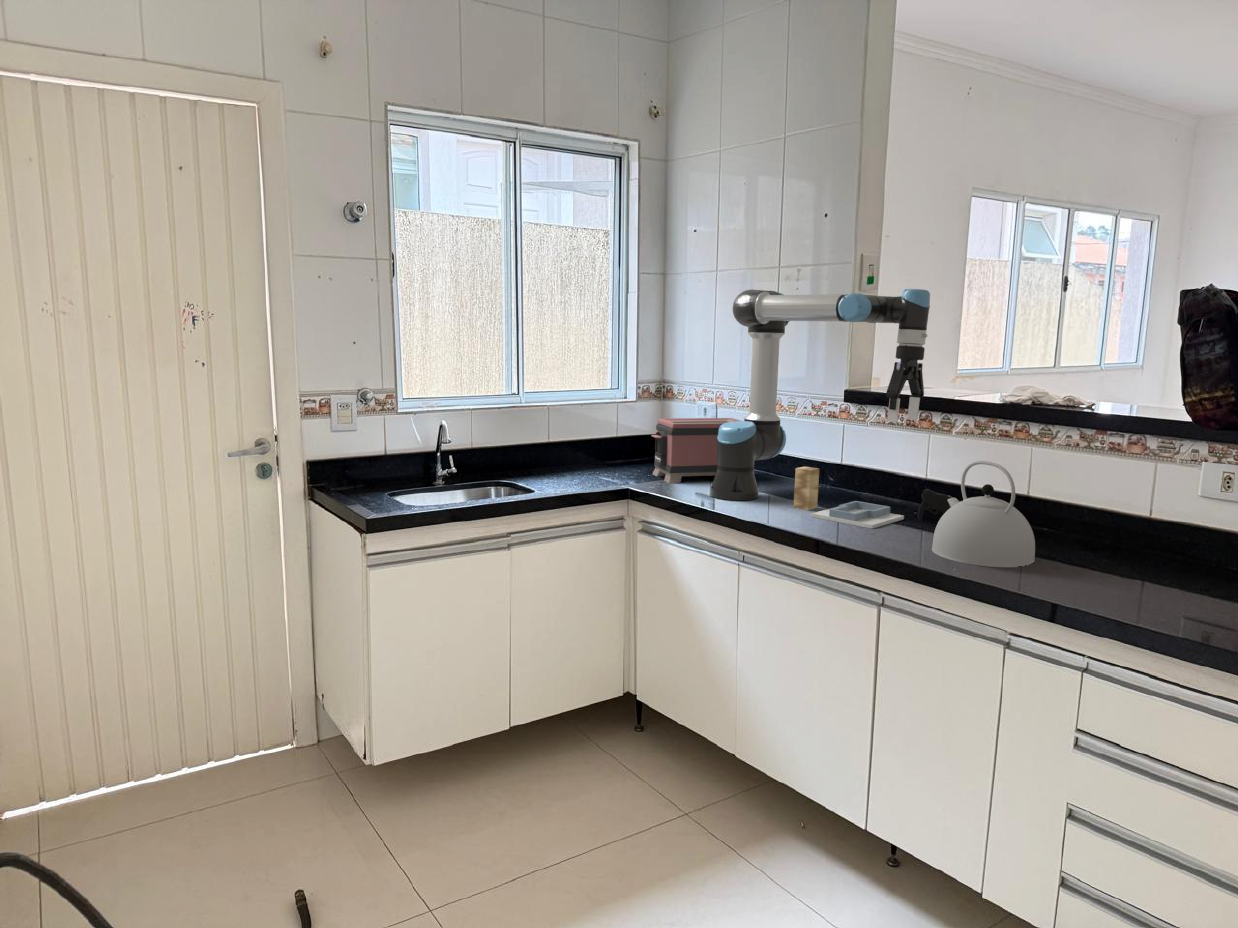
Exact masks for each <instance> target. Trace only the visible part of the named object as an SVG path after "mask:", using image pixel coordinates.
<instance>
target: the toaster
mask: <svg viewBox="0 0 1238 928" xmlns="http://www.w3.org/2000/svg"><path fill="white" fill-rule="evenodd" d="M736 421H742V420H740V419H737V418H734V417H706V418H705V417H703V418H701V417H699V418H697V417H696V418H695V417H694V418H693V417H691V418H690V417H687V418H685V417H683V418H681V417H680V418H679V417H678V418H675V417H674V418H673V417H672V418H658V420H657V424H655V429H656V433H655V434H651V435H650V436H651V437H652V438H655V439H654V441H655V443H654V452H655V453H654V465H653V466H654V467H655V468H654V470H653V471H652V475H653V476H655V477H664V480H663V481H664V482H666V483H667V484H681V483H682V477H703V476H706V477H707V476H708V477H710V476H715V475H716V472H717V453H718V438H717V437H718V432H719V427H720V426H721V425H722V424H724V423H728V422H736Z"/></svg>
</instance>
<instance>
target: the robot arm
mask: <svg viewBox="0 0 1238 928" xmlns="http://www.w3.org/2000/svg"><path fill="white" fill-rule="evenodd" d="M930 302H931V292H930V291H929V290H927V289H923V288H922V289H921V288H909V289H908V288H906V289H903V290H902V293H901V296H900V295H899V296H885V295H882V296H881V295H872V294H871V295H870V294H862V293H849V294H848V293H847V294H843V293H842V294H839V293H838V294H784V293H782V292H779V291H775V290H763V289H746V290H743V291H742V292H740V293H739V294H738V295H737V296H736V297H735V299H734V300H733V303H732V314H733V317H734V319H735V321H736V322H738V323H739V324H740V325H741V326H743V327H746V328H747V334H748V335H749V336H750V337H751V338H752V340H751V341H752V344H751V364H750V365H751V366H750V367H751V368H750V389H749V391H750V392H749V411H748V412H749V413H748V414H747V415H746V416H745V417H743V418H744V420H741V421H736V422H728V423H724V424H722V425H721V426H720V427H719V432H718V437H717V438H718V453H717V472H716V475H714V478H713V482H712V484H711V487H710V497H712V498H715V499H719V500H726V501H727V500H729V501H752V500H755V499H758V498H759V488H758V485H757V480H756V476H755V461H761V460H766V461H767V460H770V459H772V458H775V457H777V456H778V455H780V454H781V453H782V452H783V450H784V448H785V446H786V443H787V435H786V431H785V430H784V428H783V426H782V425H781V418H780V416H779V415H778V414H777V401H778V398H777V396H778V378H779V357H780V341H781V338H782V337H783V336H784V335H785V333H786V332H785V331H786V326H788V324H789V322H842V323H843V322H844V323H845V322H846V323H847V322H848V323H849V322H850V323H869V324H876V323H878V324H898V331H897V340H896V343H897V344H898V345H897V346H896V350H895V359H899V360H900V361H898V362H897V361H895V362H894V365H893V371H892V374H891V376H890V380H889V383H888V386H887V389H886V393H885V397H886V398H889V399H888V400H889V402H888V408H887V409H888V410H887V419H886V421H887V422H893V423H898V421H899V413H900V405H901V403H900V402H901V398H900V395H901V393H902V391H903V389H904V386H905V385H906V382H908V383H907V384H908V387H909V390H910V395H911V396H909V401H908V402H909V403H908V411H907V420H911V421H912V420H913V421H918V418H919V411H920V408H919V407H920V401H921V398H924V397H925V389H924V388H925V387H924V376H923V363H922V362H918V361H923V360H924V359H925V358H924V357H925V350H926V349H925V347H923V345H924V346H925V345H926V340H927V337H928V334H927V331H928V330H927V328H928V320H929V313H930V307H931V305H930V304H931V303H930Z"/></svg>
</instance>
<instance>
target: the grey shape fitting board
mask: <svg viewBox="0 0 1238 928" xmlns="http://www.w3.org/2000/svg"><path fill="white" fill-rule="evenodd" d="M810 517H811V518H816V519H820V520H826V521H831V522H836V523H840V524H841V523H842V524H846V525H851V526H856V527H860V528H861V527H862V528H866V529H867V528H868V529H875V528H879V527H882V526H886V525H889V524H893V523H896V522H899V521H903V520H904V519H905V515H903V514H902V515H901V514H897V513H896V514H895V513H891V506H888V505H881V504H875V503H870V502H864V501H858V500H853V501H849V502H846V503H842V504H838V506H836V507H831V508H827V509H823V510H819V511H816V512H811V514H810Z"/></svg>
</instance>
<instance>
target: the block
mask: <svg viewBox="0 0 1238 928" xmlns="http://www.w3.org/2000/svg"><path fill="white" fill-rule="evenodd" d="M794 474H795V475H794V491H793V508H794V509H797V508H799V510H804V511H810V510H811V509H812V510H815V508H816V509H818V498H819V481H820V480H819V478H820V468H817V467H810V466H801V467H796V468H795V473H794ZM812 510H811V511H812Z"/></svg>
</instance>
